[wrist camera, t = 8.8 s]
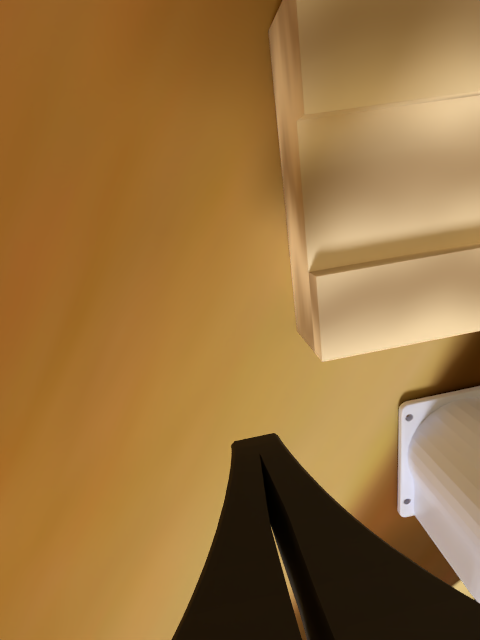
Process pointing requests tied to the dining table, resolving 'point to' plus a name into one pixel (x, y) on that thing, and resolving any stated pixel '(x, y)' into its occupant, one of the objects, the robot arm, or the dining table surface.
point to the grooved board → (380, 169)
